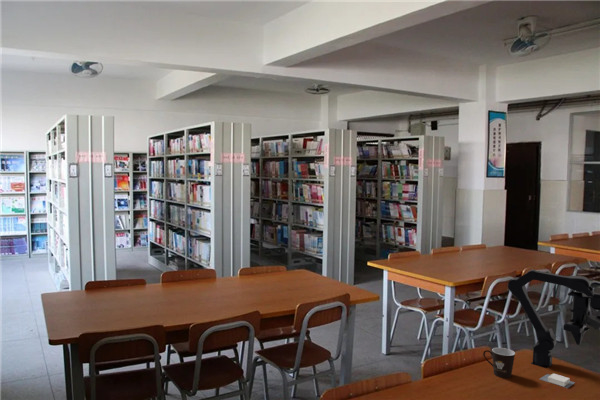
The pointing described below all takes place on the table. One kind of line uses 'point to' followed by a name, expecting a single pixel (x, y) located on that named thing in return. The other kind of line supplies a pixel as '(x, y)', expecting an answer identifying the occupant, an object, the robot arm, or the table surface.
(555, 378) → the tile
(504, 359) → the coffee mug
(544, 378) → the mat
